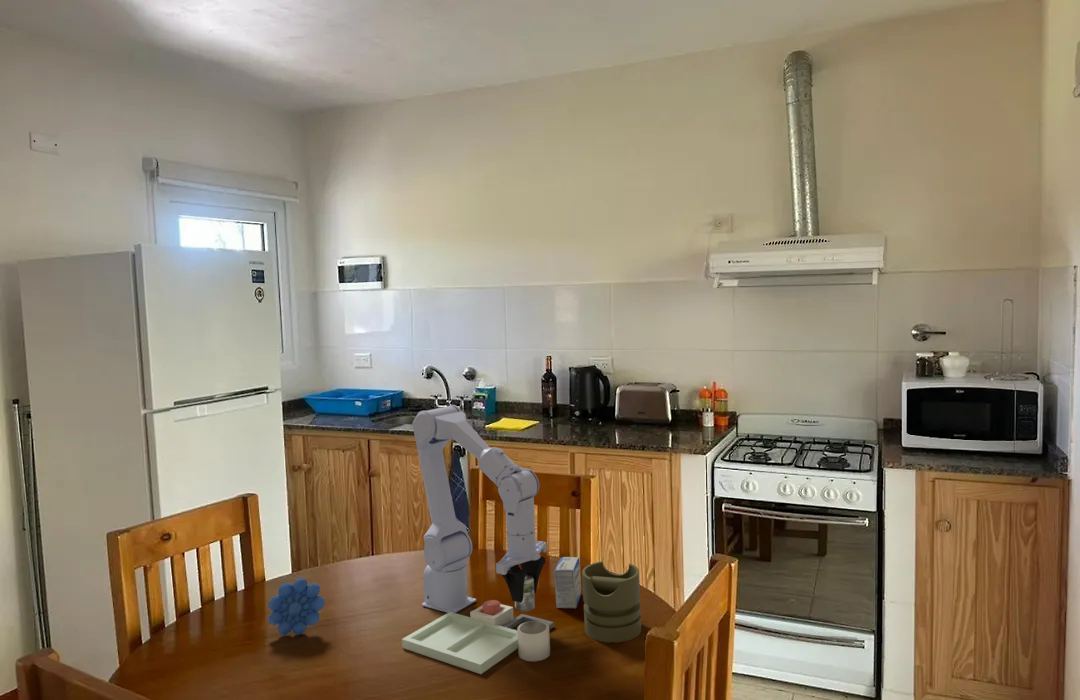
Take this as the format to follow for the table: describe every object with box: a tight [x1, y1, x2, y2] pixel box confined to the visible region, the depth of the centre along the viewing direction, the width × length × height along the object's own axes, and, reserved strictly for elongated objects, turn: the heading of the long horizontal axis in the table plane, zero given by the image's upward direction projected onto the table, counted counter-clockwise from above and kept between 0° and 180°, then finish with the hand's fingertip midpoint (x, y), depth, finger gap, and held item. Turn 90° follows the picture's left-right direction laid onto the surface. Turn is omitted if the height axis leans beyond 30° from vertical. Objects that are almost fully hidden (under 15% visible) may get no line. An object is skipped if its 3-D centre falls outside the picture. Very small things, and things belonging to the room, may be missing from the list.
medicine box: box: [553, 556, 582, 609], centre depth 161 cm, size 8×4×9 cm, turn 168°
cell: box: [514, 574, 536, 612], centre depth 148 cm, size 4×4×6 cm
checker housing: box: [469, 603, 515, 626], centre depth 152 cm, size 6×6×3 cm
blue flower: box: [267, 577, 326, 636], centre depth 152 cm, size 12×7×12 cm, turn 94°
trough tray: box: [401, 612, 518, 675], centre depth 144 cm, size 20×14×2 cm
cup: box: [516, 621, 551, 662], centre depth 139 cm, size 6×6×5 cm
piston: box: [581, 560, 642, 643], centre depth 147 cm, size 11×12×11 cm
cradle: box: [503, 613, 555, 631], centre depth 149 cm, size 8×8×1 cm
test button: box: [482, 599, 501, 616], centre depth 152 cm, size 4×4×4 cm
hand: (524, 596), depth 148 cm, fingers closed on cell, 4 cm apart
